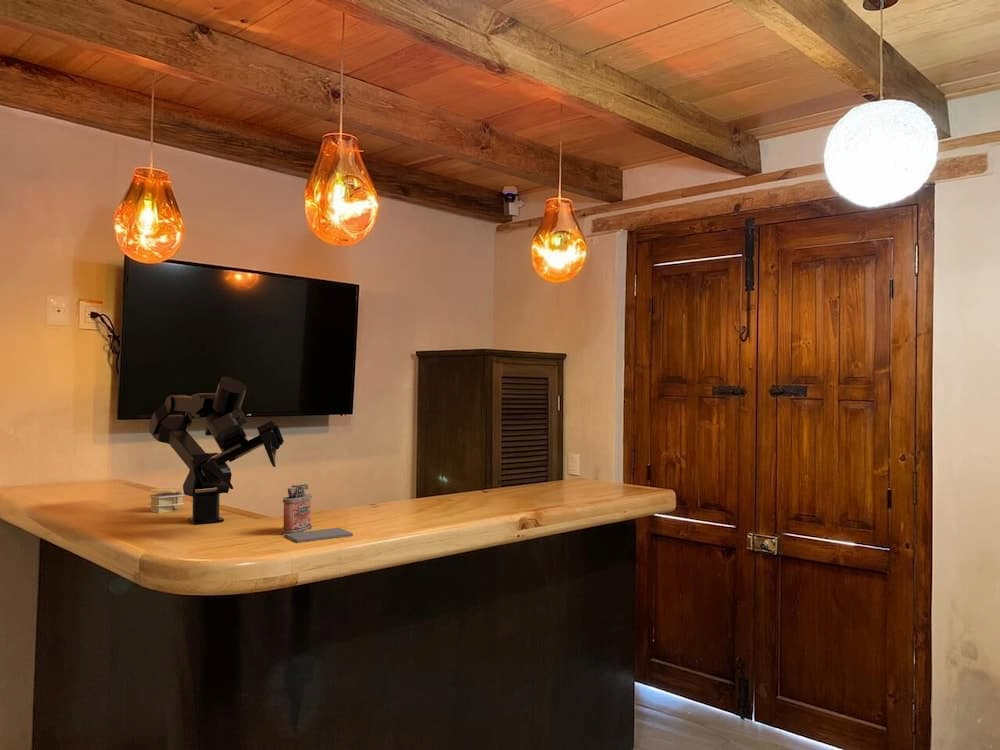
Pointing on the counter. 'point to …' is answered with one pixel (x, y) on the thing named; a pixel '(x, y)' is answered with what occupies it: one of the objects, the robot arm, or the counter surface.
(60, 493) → the counter surface
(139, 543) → the counter surface
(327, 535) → the mat
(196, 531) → the counter surface
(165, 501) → the stacked layers on plate
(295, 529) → the lighter
